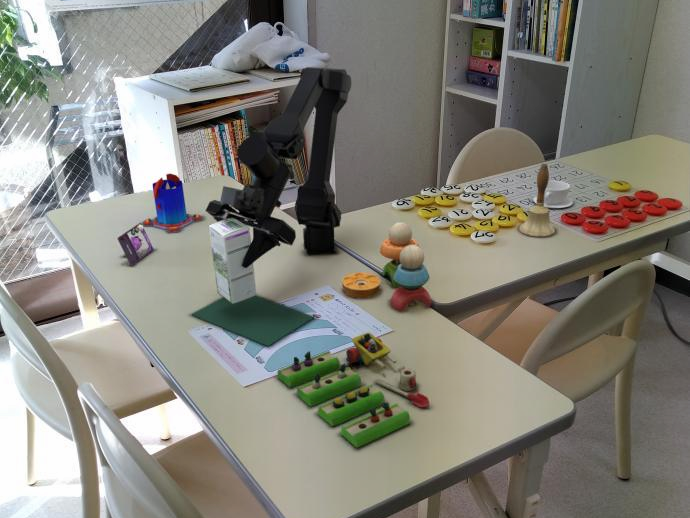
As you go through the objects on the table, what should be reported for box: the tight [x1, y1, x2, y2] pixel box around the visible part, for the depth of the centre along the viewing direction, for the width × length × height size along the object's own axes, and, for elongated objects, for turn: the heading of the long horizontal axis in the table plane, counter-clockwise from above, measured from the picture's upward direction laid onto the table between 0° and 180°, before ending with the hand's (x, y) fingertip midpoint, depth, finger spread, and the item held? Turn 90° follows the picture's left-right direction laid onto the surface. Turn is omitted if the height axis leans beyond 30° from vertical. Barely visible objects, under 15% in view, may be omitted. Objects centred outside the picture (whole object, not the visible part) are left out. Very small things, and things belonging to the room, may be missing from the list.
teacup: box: [532, 179, 574, 209], centre depth 191 cm, size 10×10×5 cm
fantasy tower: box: [142, 173, 203, 234], centre depth 182 cm, size 12×12×12 cm
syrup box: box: [208, 218, 257, 304], centre depth 139 cm, size 6×6×14 cm
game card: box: [117, 222, 155, 267], centre depth 167 cm, size 7×5×9 cm
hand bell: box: [518, 163, 556, 238], centre depth 173 cm, size 8×8×16 cm
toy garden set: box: [277, 331, 430, 449], centre depth 121 cm, size 23×19×5 cm
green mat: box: [191, 294, 315, 348], centre depth 143 cm, size 20×13×1 cm, turn 53°
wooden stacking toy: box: [341, 222, 432, 313], centre depth 147 cm, size 18×17×12 cm
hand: (231, 262), depth 139 cm, fingers closed on syrup box, 6 cm apart
